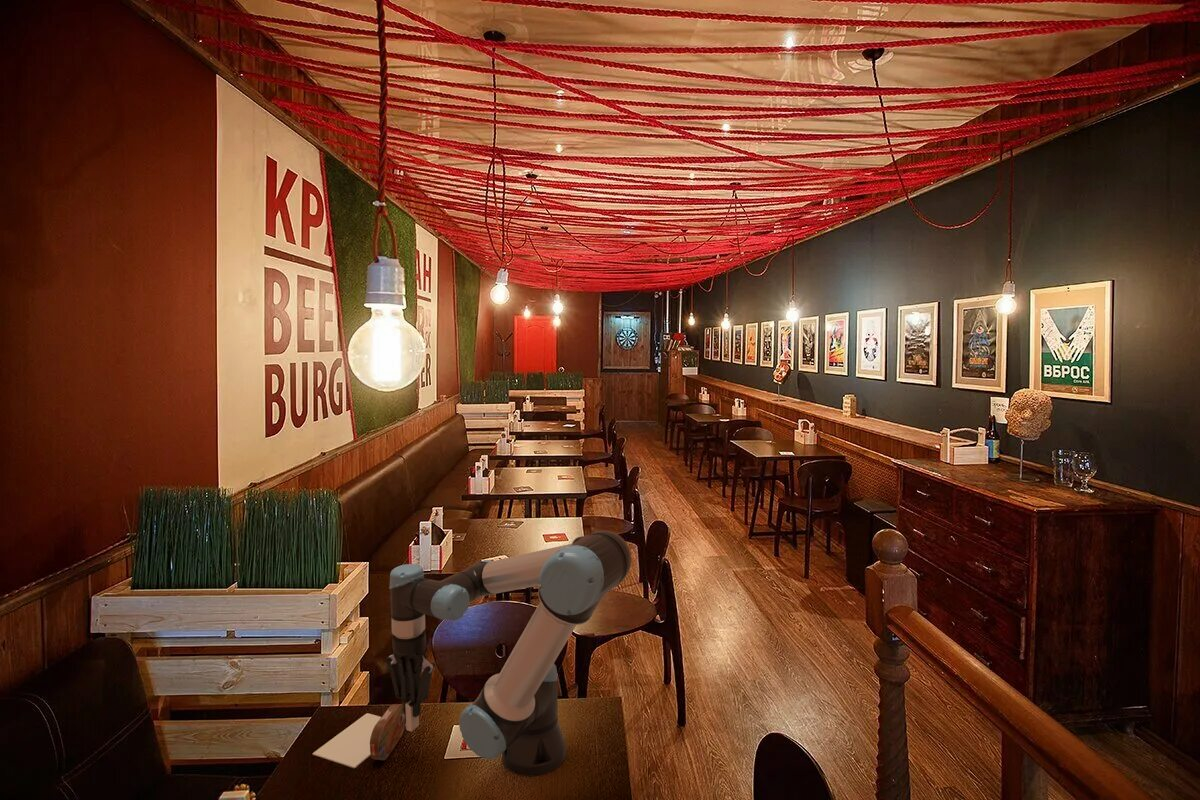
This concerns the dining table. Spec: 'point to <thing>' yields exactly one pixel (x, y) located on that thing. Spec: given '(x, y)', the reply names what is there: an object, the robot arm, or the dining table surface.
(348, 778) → the dining table surface
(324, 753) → the placemat
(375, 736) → the tin
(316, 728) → the dining table surface
